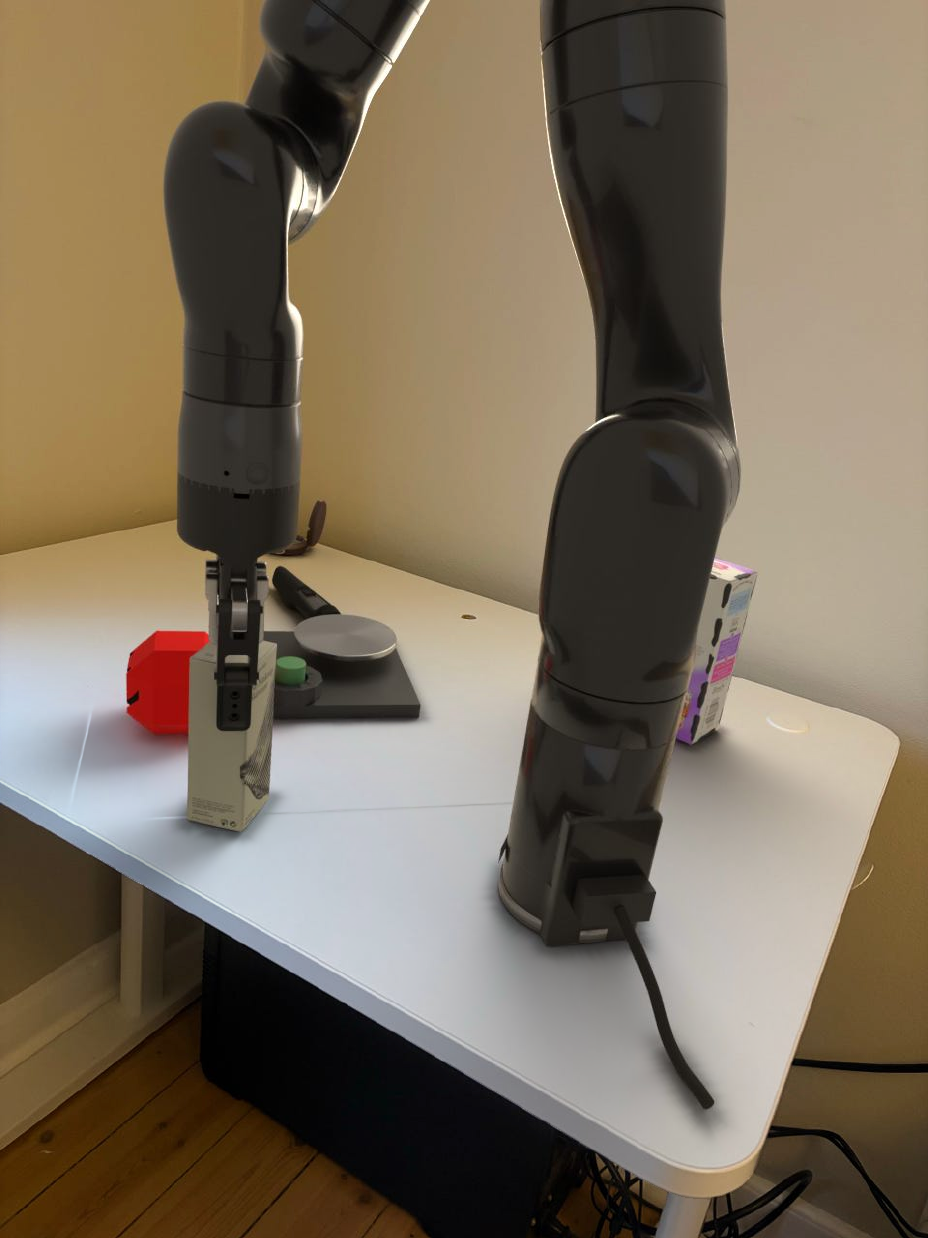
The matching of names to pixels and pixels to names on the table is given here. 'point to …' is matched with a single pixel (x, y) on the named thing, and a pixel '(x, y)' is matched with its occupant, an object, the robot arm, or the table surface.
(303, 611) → the electric trimmer
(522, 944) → the table surface
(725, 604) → the candy box
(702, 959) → the table surface
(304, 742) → the table surface
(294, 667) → the tare button
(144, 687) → the red chamfered polyhedron
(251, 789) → the box
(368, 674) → the scale
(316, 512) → the compass
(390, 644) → the weighing pan
